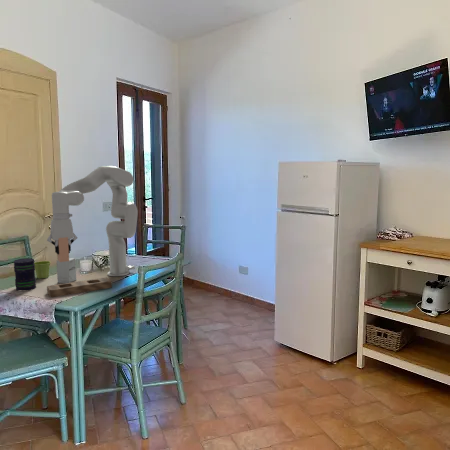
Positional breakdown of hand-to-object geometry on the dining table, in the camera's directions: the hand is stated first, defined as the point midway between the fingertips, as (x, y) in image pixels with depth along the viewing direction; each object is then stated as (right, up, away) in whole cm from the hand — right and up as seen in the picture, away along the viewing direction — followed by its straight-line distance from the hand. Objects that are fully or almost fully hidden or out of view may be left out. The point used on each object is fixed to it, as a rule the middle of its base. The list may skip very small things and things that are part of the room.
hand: (63, 252), depth 206 cm
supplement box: (-7, -18, +24) cm, 30 cm away
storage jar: (-24, -19, +11) cm, 32 cm away
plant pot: (-25, -17, +33) cm, 44 cm away
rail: (+6, -20, +7) cm, 22 cm away
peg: (0, -4, 0) cm, 4 cm away
